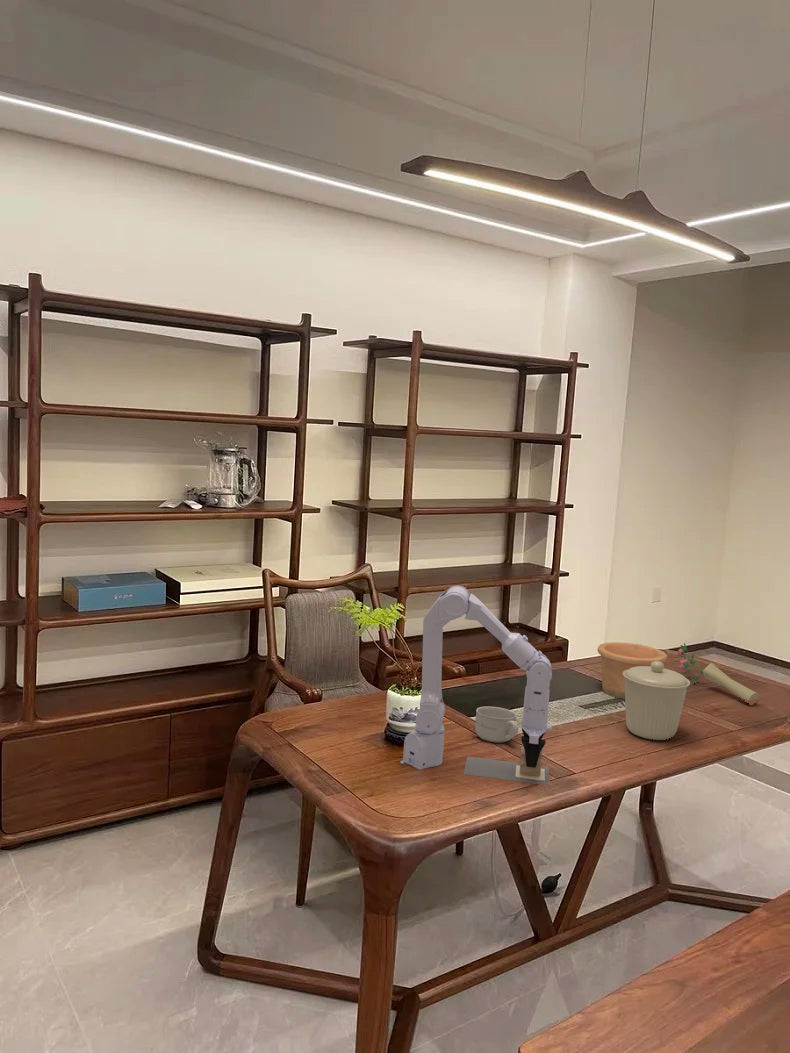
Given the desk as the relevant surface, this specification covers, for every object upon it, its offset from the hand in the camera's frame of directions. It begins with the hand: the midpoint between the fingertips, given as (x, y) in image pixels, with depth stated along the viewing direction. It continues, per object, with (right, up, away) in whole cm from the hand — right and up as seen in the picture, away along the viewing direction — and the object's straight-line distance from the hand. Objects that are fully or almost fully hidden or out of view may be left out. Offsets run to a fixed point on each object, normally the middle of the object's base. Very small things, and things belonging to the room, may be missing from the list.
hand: (531, 762), depth 192 cm
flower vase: (+76, 0, +83) cm, 113 cm away
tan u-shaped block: (0, -2, 0) cm, 2 cm away
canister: (+40, -3, +36) cm, 54 cm away
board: (-6, -3, +1) cm, 7 cm away
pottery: (+45, +1, +74) cm, 86 cm away
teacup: (-5, -1, +22) cm, 22 cm away
